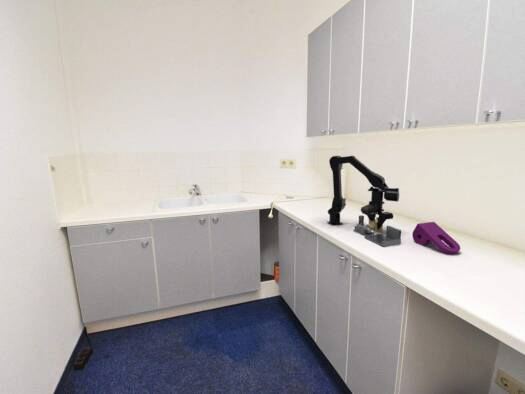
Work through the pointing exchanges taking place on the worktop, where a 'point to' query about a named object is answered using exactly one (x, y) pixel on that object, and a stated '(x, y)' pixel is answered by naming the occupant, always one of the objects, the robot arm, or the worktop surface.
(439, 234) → the mounting bracket
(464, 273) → the worktop surface
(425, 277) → the worktop surface
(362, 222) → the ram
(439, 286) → the worktop surface
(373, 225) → the block
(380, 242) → the frame
